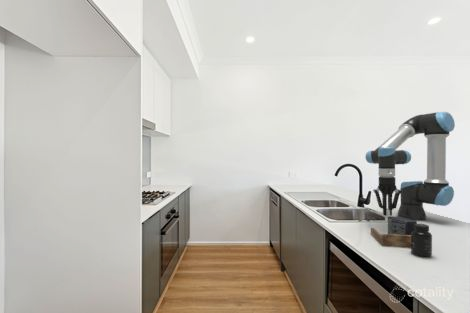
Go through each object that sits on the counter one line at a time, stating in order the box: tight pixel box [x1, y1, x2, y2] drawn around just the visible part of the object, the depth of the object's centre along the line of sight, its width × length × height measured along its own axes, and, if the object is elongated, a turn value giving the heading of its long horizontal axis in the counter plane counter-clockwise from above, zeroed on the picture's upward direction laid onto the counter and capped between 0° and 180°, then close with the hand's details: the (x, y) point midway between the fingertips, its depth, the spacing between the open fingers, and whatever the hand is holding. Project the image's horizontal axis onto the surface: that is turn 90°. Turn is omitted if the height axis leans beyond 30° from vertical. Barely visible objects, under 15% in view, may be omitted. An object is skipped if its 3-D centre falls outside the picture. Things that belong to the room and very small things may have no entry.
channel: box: [370, 227, 411, 249], centre depth 119 cm, size 18×18×5 cm
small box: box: [387, 215, 418, 235], centre depth 119 cm, size 11×6×10 cm, turn 13°
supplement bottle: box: [410, 222, 433, 259], centre depth 103 cm, size 7×7×12 cm
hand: (387, 221), depth 133 cm, fingers closed
